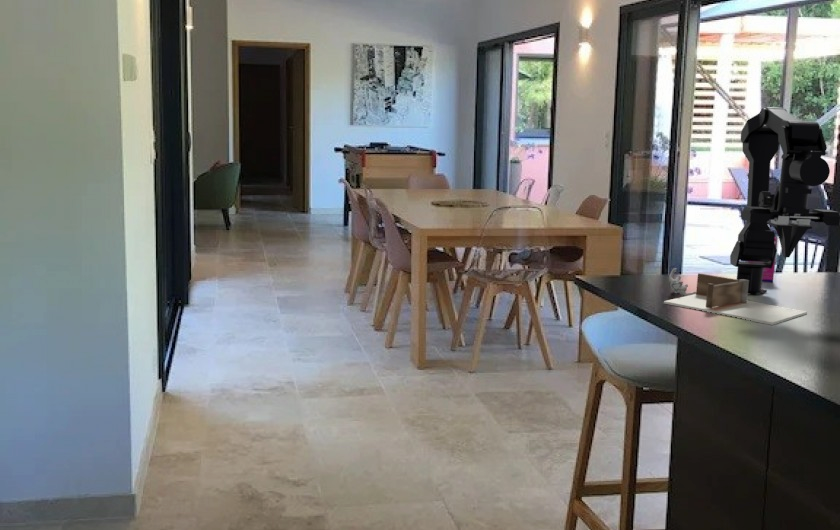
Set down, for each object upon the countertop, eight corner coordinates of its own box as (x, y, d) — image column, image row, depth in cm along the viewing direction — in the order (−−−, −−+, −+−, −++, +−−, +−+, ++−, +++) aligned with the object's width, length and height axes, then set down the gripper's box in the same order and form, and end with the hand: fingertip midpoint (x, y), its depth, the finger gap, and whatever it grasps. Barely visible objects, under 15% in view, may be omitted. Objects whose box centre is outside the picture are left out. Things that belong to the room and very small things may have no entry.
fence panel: (736, 301, 192) (738, 278, 191) (741, 302, 191) (743, 279, 190) (704, 307, 185) (706, 283, 184) (709, 308, 184) (711, 284, 183)
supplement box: (744, 277, 229) (748, 233, 227) (767, 278, 228) (772, 235, 226) (749, 281, 223) (754, 236, 221) (773, 282, 222) (778, 238, 220)
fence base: (699, 293, 201) (701, 272, 200) (748, 302, 193) (750, 280, 192) (694, 294, 199) (696, 272, 199) (744, 303, 191) (746, 281, 190)
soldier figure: (696, 295, 207) (702, 288, 195) (680, 308, 207) (684, 302, 196) (674, 270, 209) (678, 262, 197) (658, 282, 209) (661, 275, 198)
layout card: (701, 294, 202) (702, 292, 202) (806, 314, 186) (807, 311, 186) (663, 303, 191) (664, 300, 190) (772, 325, 174) (772, 322, 174)
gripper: (822, 181, 189) (814, 253, 192) (736, 178, 189) (728, 249, 192) (846, 185, 178) (837, 261, 181) (755, 181, 178) (747, 257, 181)
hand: (786, 257), depth 184 cm, fingers closed
